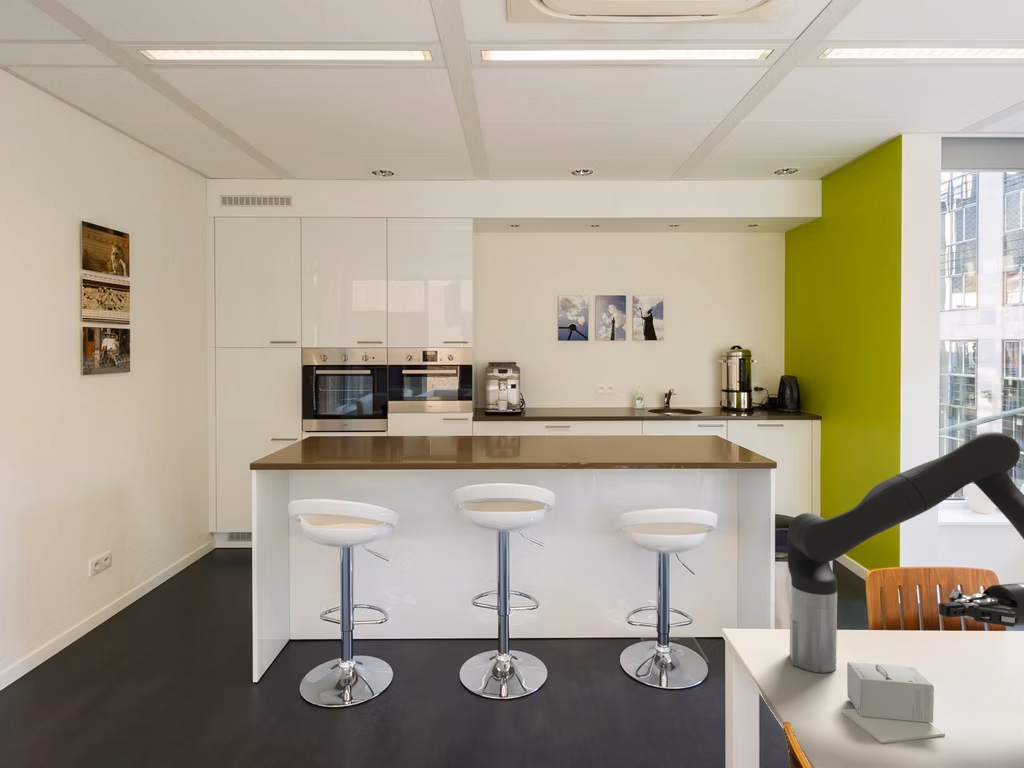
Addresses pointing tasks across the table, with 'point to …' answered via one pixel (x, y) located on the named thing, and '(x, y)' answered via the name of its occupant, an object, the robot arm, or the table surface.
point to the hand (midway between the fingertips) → (942, 610)
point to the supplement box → (890, 692)
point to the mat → (893, 728)
